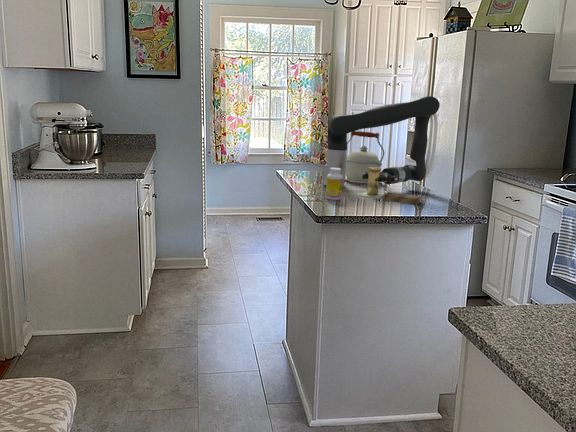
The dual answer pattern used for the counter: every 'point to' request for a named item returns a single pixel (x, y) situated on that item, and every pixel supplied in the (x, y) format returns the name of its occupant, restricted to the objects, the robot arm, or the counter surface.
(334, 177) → the supplement bottle
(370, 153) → the kettle
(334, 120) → the robot arm
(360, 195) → the pad
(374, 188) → the gold cylindrical canister
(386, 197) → the brown flat block
